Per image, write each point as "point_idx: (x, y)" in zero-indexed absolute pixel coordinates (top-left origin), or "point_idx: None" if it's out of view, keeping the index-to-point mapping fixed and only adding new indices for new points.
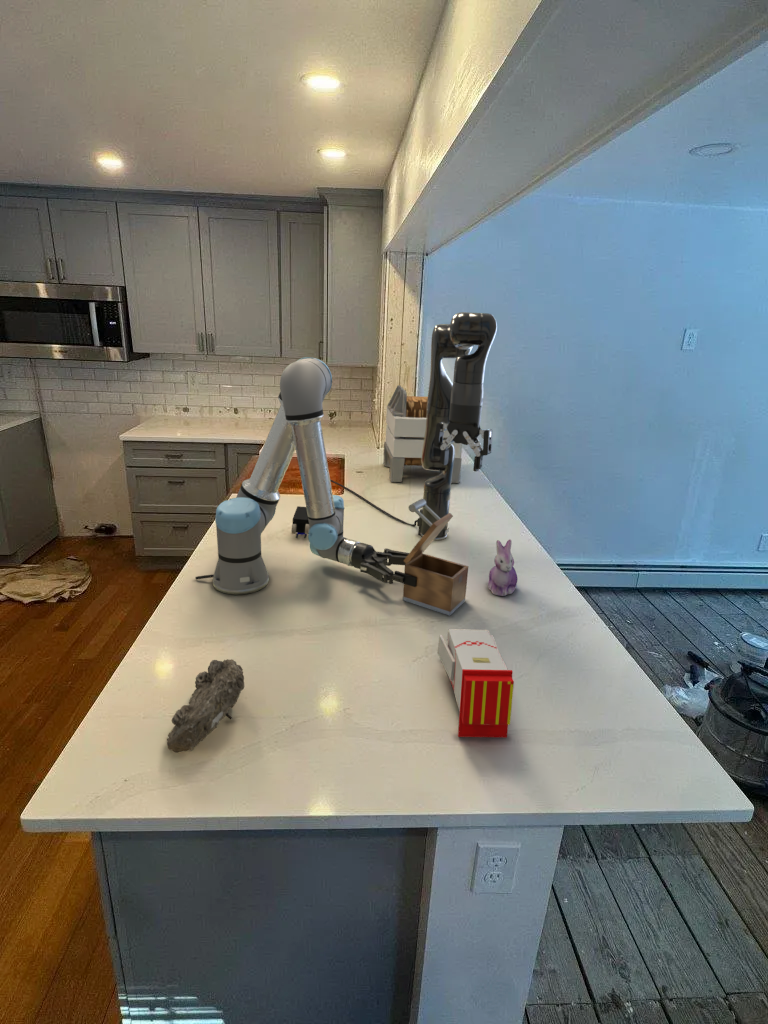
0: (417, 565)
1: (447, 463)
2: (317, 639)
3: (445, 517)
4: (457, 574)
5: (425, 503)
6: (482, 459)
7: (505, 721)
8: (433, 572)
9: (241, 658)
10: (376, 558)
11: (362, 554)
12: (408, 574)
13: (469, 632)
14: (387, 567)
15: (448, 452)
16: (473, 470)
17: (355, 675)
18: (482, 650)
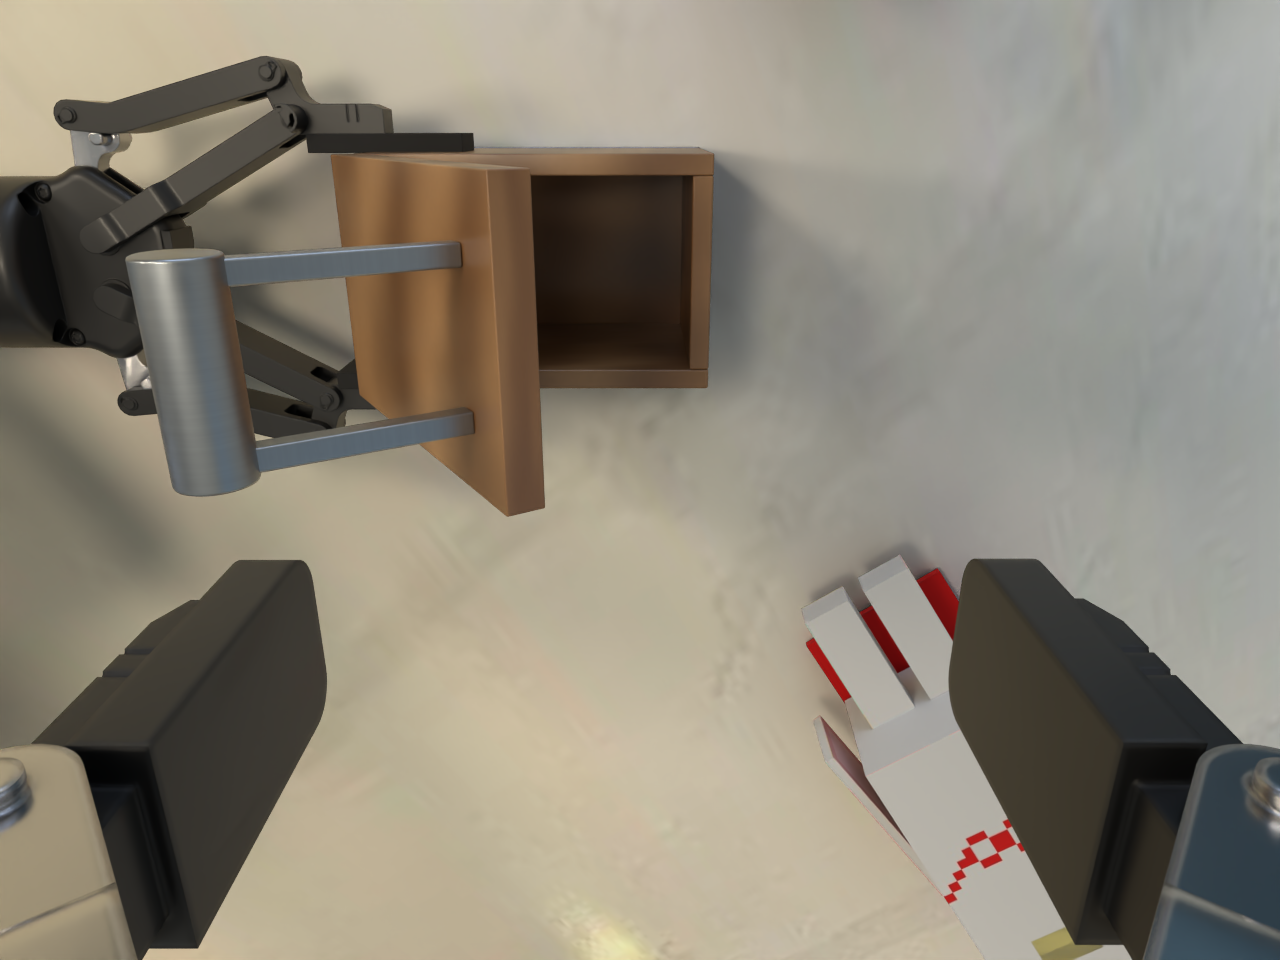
0: None
1: (307, 574)
2: (366, 765)
3: (509, 301)
4: (703, 317)
5: (220, 274)
6: (1220, 726)
7: None
8: (572, 380)
9: (267, 943)
10: None
11: (50, 337)
12: None
13: (953, 762)
14: (270, 361)
15: (195, 715)
16: (953, 706)
17: (599, 840)
18: None
